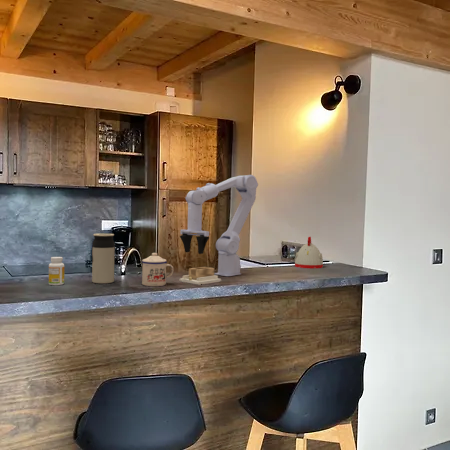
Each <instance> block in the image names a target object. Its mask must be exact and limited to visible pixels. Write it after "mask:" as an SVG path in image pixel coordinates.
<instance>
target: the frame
mask: <svg viewBox="0 0 450 450" xmlns="http://www.w3.org/2000/svg"><path fill="white" fill-rule="evenodd" d="M214 273H215V268H214V267H209V266H200V267H192V268H188V275H189V277H192V280H197V278H200V277H207V276H214V275H215V274H214Z"/></svg>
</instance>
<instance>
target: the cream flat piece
mask: <svg viewBox="0 0 450 450" xmlns="http://www.w3.org/2000/svg"><path fill="white" fill-rule="evenodd" d="M178 281H179V282H182V283H188V284H193V285H199V286H200V285H201V284H202V285H209V284H213V283H219V282H220V283H221V282H222V278H219V275H215V274H214V276H207V277H200V278H197V280H192V277H189V274H186V275H182V278H179V279H178Z"/></svg>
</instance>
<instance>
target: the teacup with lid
mask: <svg viewBox="0 0 450 450" xmlns="http://www.w3.org/2000/svg"><path fill="white" fill-rule="evenodd" d="M141 263H142V273H141V275H142V277H141V281H142V282H141V284H142V285H143V286H145V287H163V286H165V285H166V284H167V278H170V277H171V276H172V275H173V273H174V266H173V265H172V264H169V263H168V262H167V259H165V258H162V257H161V256H160V255H158V253H157V252H152V253H151V255H150V256H148V257H146V258H143V259H142V260H141ZM167 267H169V268H170V272H169V274H167Z"/></svg>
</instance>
